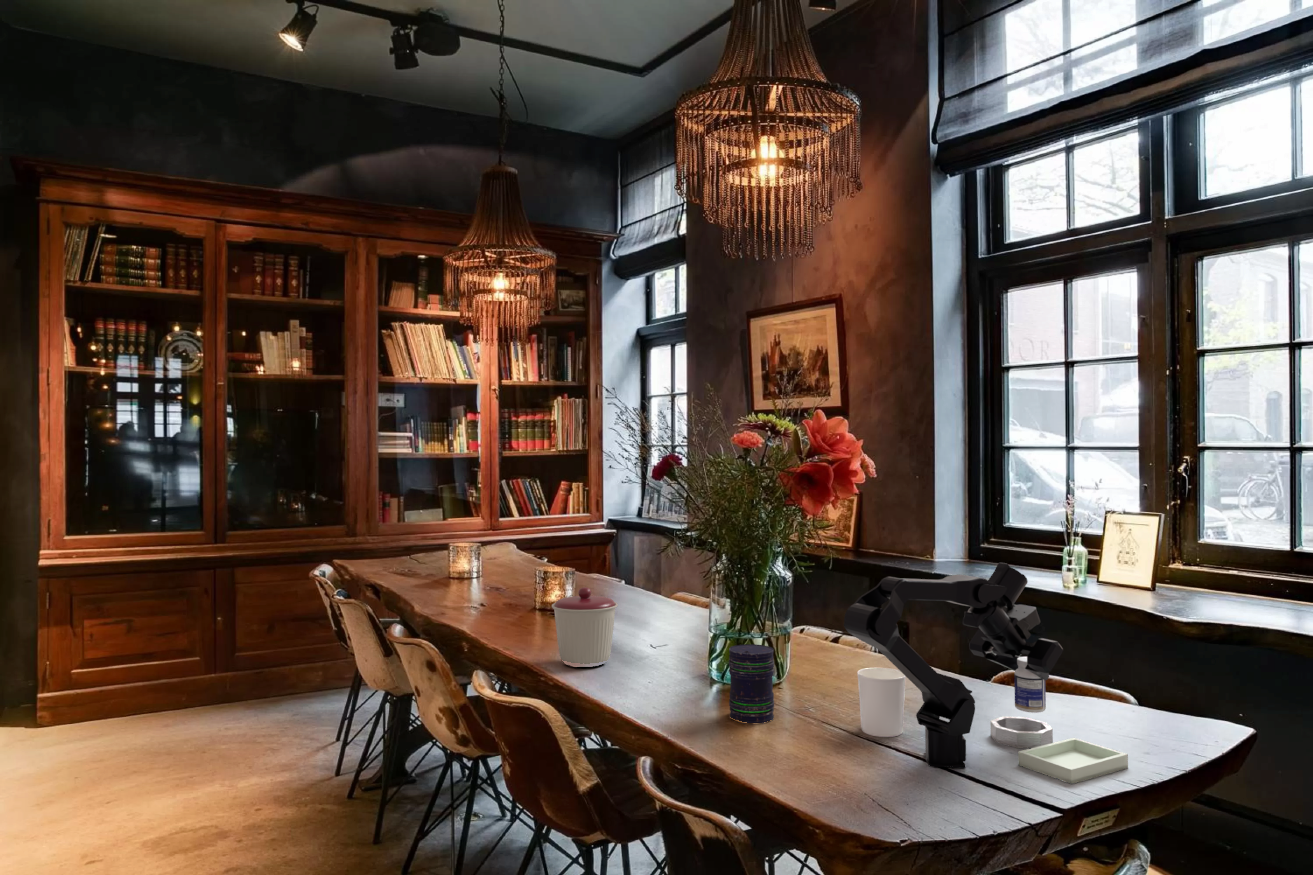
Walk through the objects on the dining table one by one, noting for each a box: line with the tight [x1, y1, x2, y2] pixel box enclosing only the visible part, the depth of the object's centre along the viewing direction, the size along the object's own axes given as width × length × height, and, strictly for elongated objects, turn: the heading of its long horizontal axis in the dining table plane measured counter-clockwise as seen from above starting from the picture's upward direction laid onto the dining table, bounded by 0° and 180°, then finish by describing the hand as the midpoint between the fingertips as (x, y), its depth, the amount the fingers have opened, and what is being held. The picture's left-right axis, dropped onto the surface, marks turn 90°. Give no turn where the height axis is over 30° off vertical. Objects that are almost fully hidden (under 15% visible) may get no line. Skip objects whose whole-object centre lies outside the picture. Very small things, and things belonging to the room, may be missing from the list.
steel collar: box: [989, 716, 1054, 749], centre depth 181 cm, size 11×11×3 cm
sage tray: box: [1017, 737, 1129, 785], centre depth 165 cm, size 16×11×2 cm
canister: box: [551, 586, 619, 664], centre depth 247 cm, size 18×18×21 cm
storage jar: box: [728, 643, 775, 724], centre depth 197 cm, size 10×10×15 cm
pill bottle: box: [1013, 656, 1047, 714], centre depth 179 cm, size 6×6×10 cm
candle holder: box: [856, 667, 907, 738], centre depth 187 cm, size 10×10×12 cm
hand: (1034, 674), depth 179 cm, fingers closed on pill bottle, 6 cm apart
